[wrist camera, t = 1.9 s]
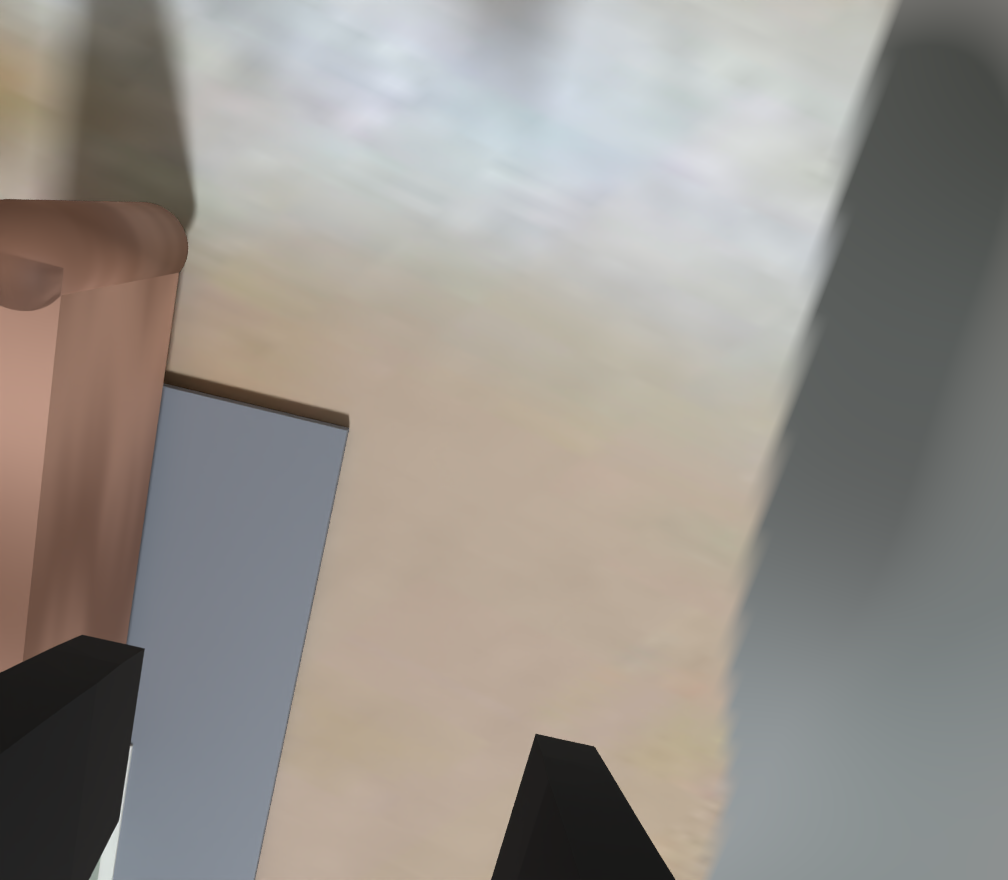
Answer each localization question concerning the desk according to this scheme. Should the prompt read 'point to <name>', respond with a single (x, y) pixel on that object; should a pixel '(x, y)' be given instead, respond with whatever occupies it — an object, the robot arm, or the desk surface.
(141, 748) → the card
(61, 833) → the robot arm
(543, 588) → the desk surface
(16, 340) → the wooden block
